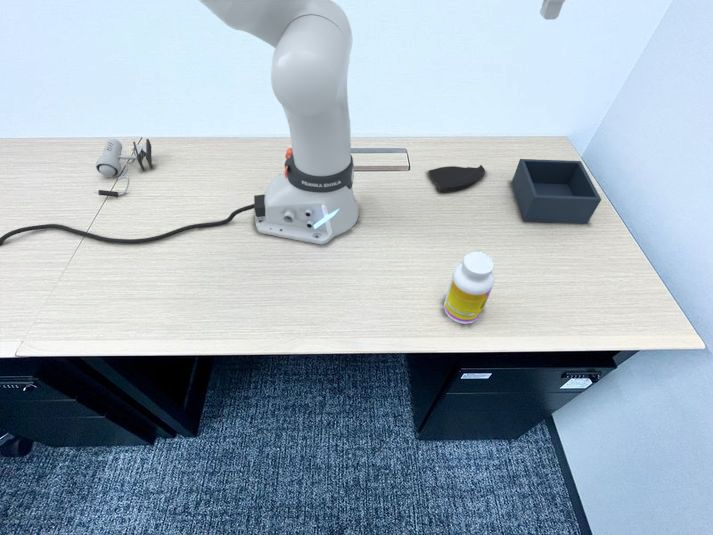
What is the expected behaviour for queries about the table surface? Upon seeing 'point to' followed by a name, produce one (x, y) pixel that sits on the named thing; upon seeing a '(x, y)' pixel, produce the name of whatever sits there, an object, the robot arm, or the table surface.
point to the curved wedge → (455, 177)
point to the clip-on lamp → (110, 161)
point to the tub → (554, 191)
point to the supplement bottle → (469, 288)
